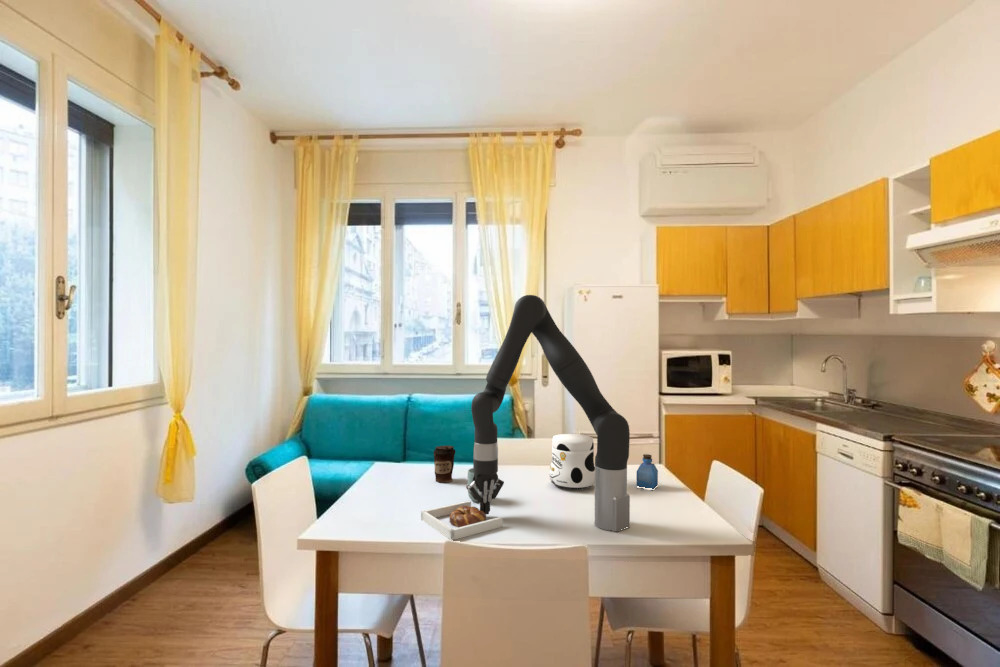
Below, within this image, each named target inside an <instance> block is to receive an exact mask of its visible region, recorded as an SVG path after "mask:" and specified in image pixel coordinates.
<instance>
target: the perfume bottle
mask: <svg viewBox="0 0 1000 667" xmlns="http://www.w3.org/2000/svg"><path fill="white" fill-rule="evenodd" d="M642 456H643V457H642V459H641V460H642V463H640V464H639V466H638V468H637V470H636V485H635V486H639V487H645V488H652V489H654V488H655V487H656V486H657V485H659V484H658V483H659V479H658V478H659V471H658V468H657V467H656V464H655V463H653V458H652V456H653V455H652V454H648V453H647V454H645V453H644V454H643V455H642Z"/></svg>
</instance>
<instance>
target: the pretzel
mask: <svg viewBox="0 0 1000 667" xmlns="http://www.w3.org/2000/svg"><path fill="white" fill-rule="evenodd" d="M486 520H487V515H486V514H485V513H484V512H483V511H480V508H478V507H476V506H471V507H470V506H461V507H459V508H458V509H456V510H454V511H453V512H452V513H451V514H449V523H450V524H451V525H452V526H454V527H457V528H459V527H463V526H467V525H470V524H474V523H478V522H482V521H486Z"/></svg>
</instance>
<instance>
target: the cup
mask: <svg viewBox="0 0 1000 667" xmlns="http://www.w3.org/2000/svg"><path fill="white" fill-rule="evenodd" d="M473 477H474V471H473V467H472V468H469V469H467V485H470V484H471V483H472V482H473ZM475 487H476V486H475ZM476 492H477V493H478V489H477V487H476ZM467 494H468V497H469V499H470V501H471V502H475V503H480V502H479V501H477V500H475V499H474V498H473V496H472V495H471V494H470V492H469V491H468V490H467ZM478 494H479V493H478Z"/></svg>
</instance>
